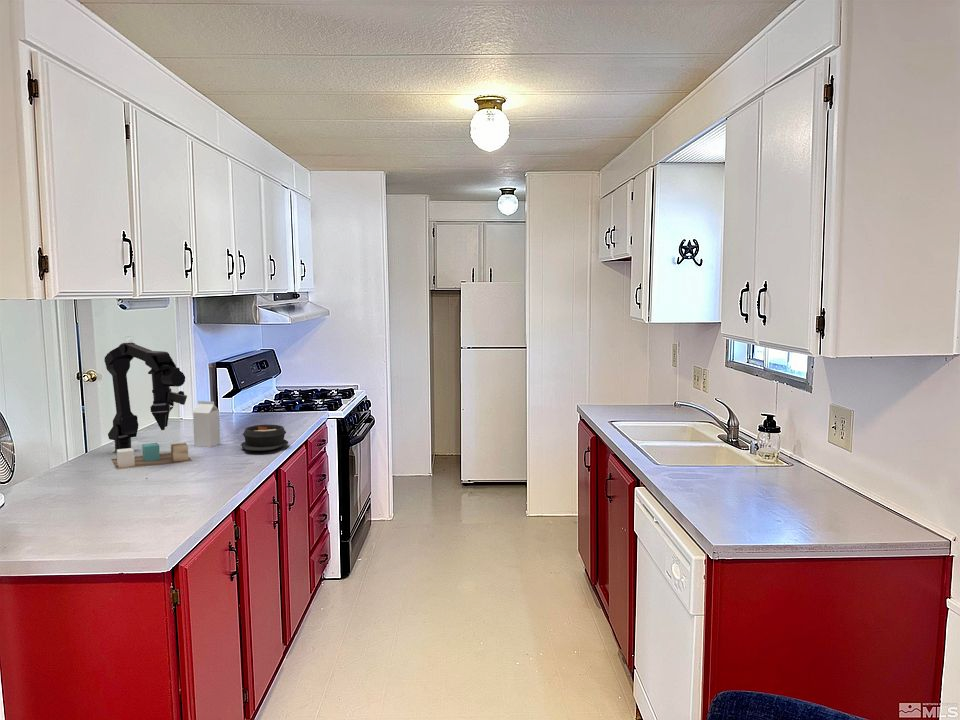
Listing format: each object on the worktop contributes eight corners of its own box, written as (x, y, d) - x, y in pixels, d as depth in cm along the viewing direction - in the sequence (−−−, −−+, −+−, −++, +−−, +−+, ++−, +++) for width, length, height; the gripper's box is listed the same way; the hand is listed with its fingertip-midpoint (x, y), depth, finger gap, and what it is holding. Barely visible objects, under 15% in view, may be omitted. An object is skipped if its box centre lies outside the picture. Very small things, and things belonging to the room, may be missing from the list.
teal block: (142, 458, 265) (142, 444, 264) (157, 457, 267) (156, 442, 267) (144, 461, 261) (144, 446, 260) (159, 459, 263) (159, 445, 263)
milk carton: (210, 450, 285) (208, 403, 283) (194, 449, 286) (192, 402, 284) (220, 446, 292) (218, 400, 290) (204, 445, 293) (203, 399, 291)
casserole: (247, 441, 301) (247, 422, 301) (292, 441, 304) (292, 421, 303) (234, 455, 277) (233, 434, 276) (283, 454, 279) (283, 433, 278)
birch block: (171, 458, 265) (170, 444, 265) (185, 457, 268) (185, 442, 268) (173, 461, 261) (173, 446, 261) (188, 459, 264) (187, 445, 263)
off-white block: (117, 464, 256) (116, 449, 255) (132, 462, 258) (132, 447, 258) (119, 467, 252) (118, 452, 251) (134, 465, 254) (134, 450, 254)
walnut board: (111, 462, 264) (110, 458, 264) (183, 454, 278) (182, 451, 278) (116, 472, 249) (116, 469, 249) (192, 464, 263) (192, 460, 262)
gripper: (182, 386, 256) (186, 429, 257) (186, 382, 273) (189, 423, 274) (148, 389, 252) (152, 432, 253) (154, 384, 270) (158, 425, 271)
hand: (164, 428), depth 263 cm, fingers open, 9 cm apart
